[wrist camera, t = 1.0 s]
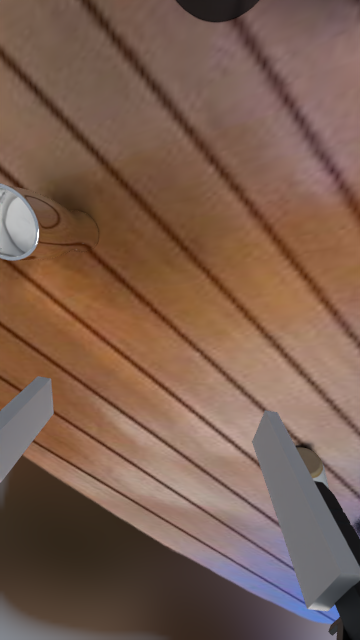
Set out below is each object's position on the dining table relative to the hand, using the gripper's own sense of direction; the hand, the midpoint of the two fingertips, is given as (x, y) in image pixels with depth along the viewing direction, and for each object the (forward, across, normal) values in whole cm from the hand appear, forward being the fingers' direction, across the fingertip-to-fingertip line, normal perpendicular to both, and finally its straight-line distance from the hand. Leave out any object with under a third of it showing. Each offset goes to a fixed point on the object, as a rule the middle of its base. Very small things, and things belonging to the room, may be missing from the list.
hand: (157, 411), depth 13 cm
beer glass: (+26, -17, +8) cm, 32 cm away
